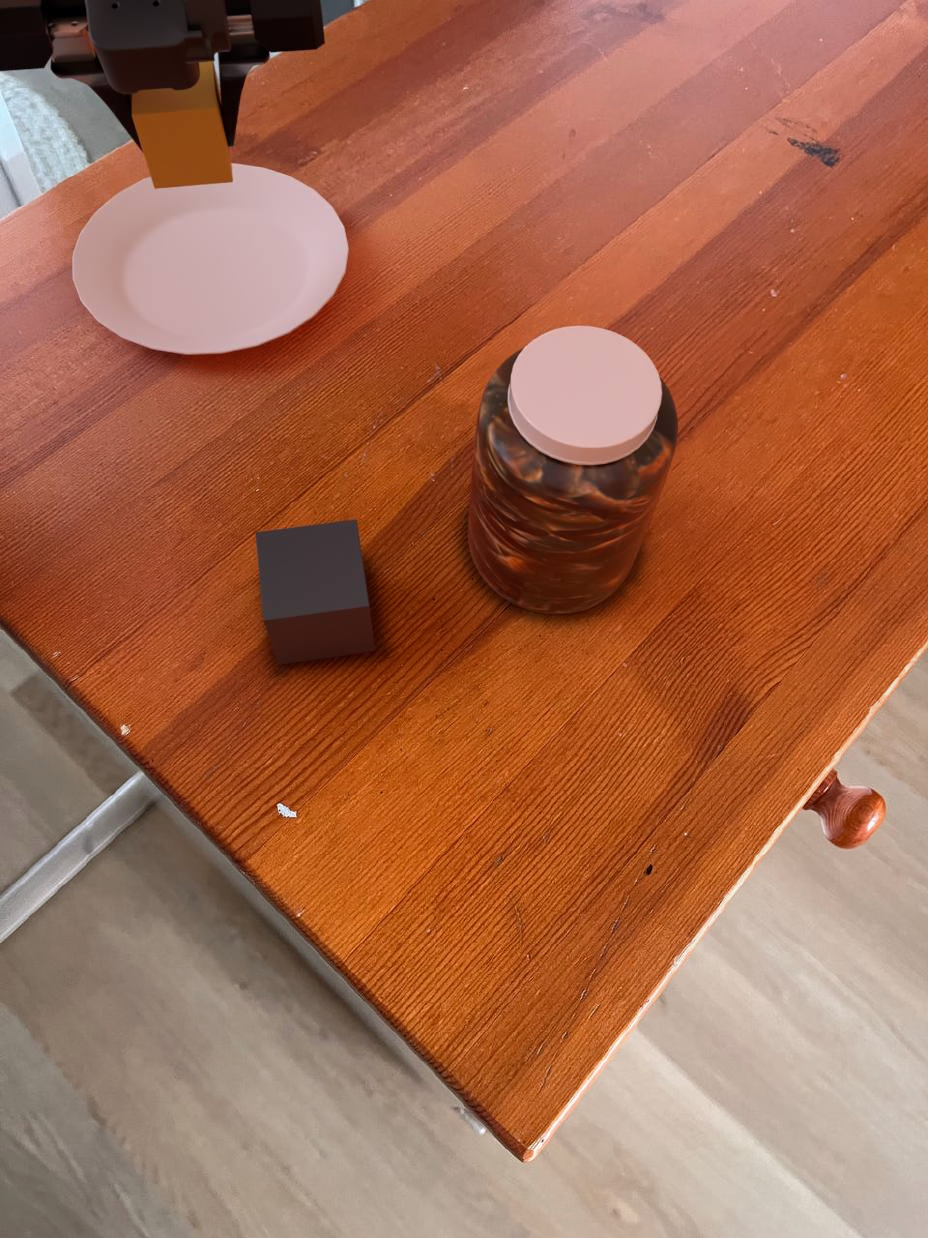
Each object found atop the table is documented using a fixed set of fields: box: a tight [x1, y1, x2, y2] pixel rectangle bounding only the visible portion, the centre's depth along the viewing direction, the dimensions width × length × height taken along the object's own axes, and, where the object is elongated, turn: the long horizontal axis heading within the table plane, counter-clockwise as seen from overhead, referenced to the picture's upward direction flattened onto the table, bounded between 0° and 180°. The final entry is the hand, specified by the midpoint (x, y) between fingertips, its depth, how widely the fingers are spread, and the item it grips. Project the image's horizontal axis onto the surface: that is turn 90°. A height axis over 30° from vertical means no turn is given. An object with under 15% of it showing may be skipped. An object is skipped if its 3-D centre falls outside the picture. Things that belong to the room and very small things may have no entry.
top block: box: [132, 61, 233, 189], centre depth 57 cm, size 5×5×5 cm
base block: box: [255, 518, 376, 666], centre depth 55 cm, size 6×6×6 cm
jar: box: [467, 325, 679, 615], centre depth 54 cm, size 12×12×15 cm
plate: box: [72, 162, 350, 356], centre depth 70 cm, size 21×21×2 cm
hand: (188, 146), depth 58 cm, fingers closed on top block, 5 cm apart
